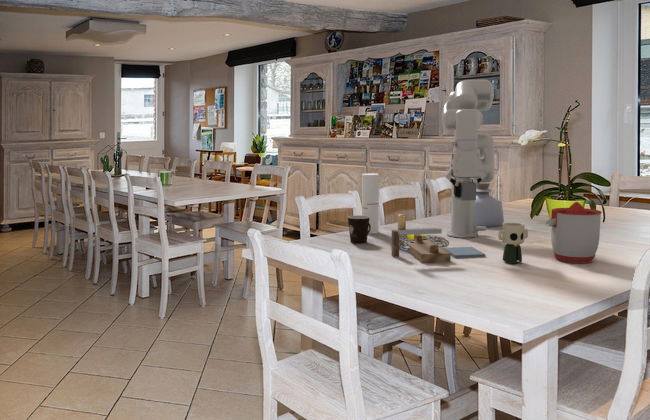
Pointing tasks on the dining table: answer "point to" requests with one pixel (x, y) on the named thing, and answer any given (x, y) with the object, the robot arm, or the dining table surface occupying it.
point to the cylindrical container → (371, 200)
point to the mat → (464, 252)
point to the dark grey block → (467, 191)
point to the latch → (404, 231)
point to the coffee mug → (358, 228)
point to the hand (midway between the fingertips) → (465, 196)
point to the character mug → (513, 241)
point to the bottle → (487, 207)
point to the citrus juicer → (575, 233)
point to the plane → (421, 249)
